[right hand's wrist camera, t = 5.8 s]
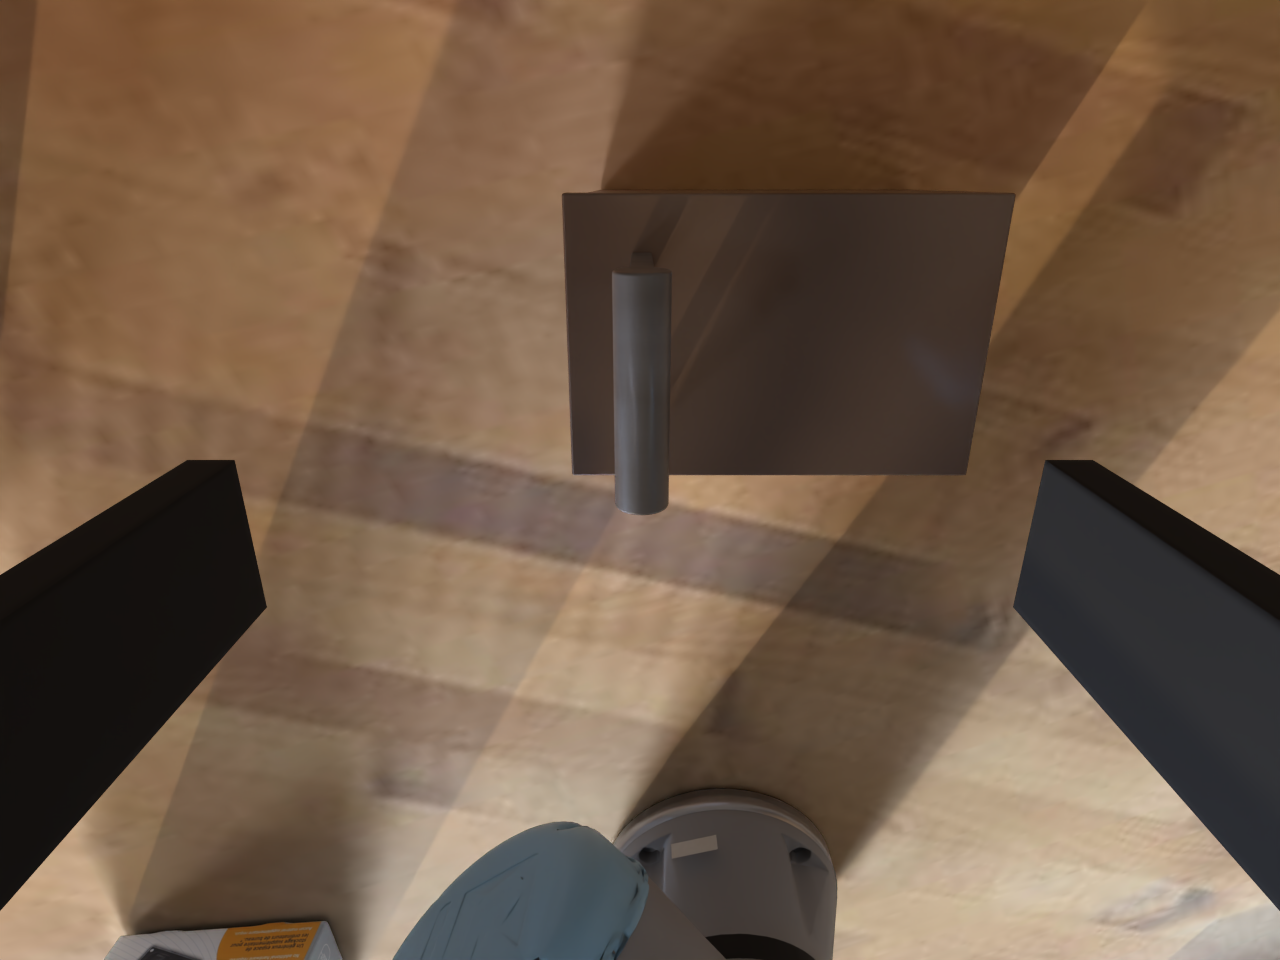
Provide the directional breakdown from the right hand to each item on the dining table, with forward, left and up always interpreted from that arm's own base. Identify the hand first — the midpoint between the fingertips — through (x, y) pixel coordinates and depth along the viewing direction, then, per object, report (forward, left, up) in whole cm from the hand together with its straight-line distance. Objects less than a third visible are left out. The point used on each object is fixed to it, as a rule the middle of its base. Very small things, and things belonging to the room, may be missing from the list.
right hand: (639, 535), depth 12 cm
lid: (+3, -4, -16) cm, 17 cm away
